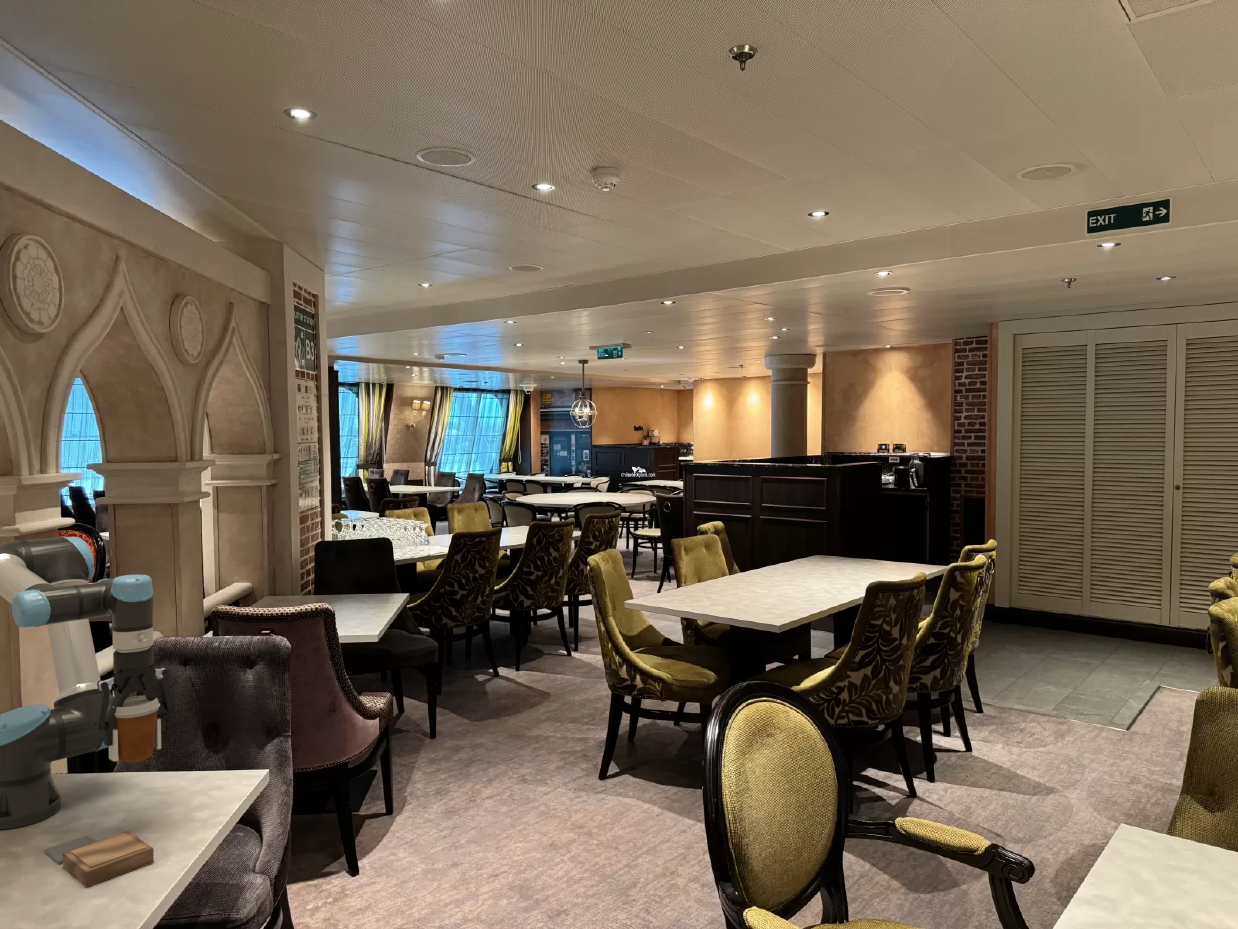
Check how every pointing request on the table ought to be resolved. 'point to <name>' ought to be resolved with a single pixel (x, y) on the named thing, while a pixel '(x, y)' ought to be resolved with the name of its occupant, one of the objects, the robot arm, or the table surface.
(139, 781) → the table surface
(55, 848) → the slate coaster
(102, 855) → the walnut base
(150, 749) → the disposable coffee cup
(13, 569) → the robot arm
